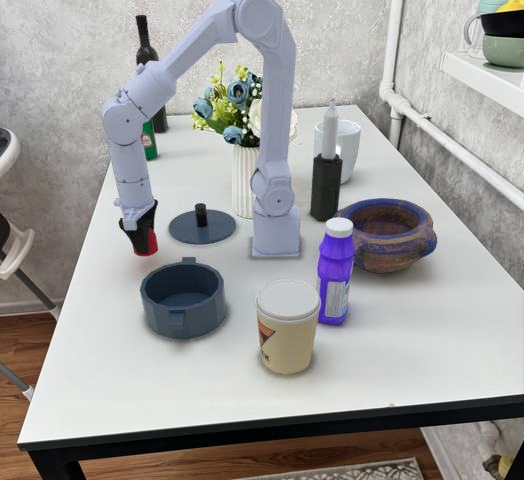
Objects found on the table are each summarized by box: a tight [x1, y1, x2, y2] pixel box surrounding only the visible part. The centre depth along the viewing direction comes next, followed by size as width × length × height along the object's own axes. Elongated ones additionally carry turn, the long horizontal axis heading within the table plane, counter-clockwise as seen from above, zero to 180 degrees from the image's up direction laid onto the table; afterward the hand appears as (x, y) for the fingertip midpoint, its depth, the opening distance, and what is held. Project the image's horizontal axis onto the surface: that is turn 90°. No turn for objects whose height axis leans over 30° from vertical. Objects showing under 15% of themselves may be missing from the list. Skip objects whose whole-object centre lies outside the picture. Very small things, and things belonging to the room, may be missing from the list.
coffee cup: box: [254, 278, 321, 375], centre depth 73 cm, size 9×9×12 cm
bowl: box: [332, 197, 438, 274], centre depth 94 cm, size 18×18×10 cm
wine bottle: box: [135, 14, 169, 134], centre depth 143 cm, size 6×6×30 cm
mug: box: [313, 118, 362, 185], centre depth 119 cm, size 15×11×13 cm
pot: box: [139, 256, 227, 340], centre depth 83 cm, size 14×19×6 cm
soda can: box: [141, 118, 158, 161], centre depth 133 cm, size 5×5×12 cm
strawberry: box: [132, 228, 159, 257], centre depth 92 cm, size 5×5×5 cm
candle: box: [309, 95, 343, 223], centre depth 103 cm, size 5×5×25 cm
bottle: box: [315, 217, 355, 325], centre depth 79 cm, size 7×6×17 cm
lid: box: [168, 202, 237, 245], centre depth 105 cm, size 15×15×6 cm
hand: (145, 245), depth 93 cm, fingers closed on strawberry, 4 cm apart
